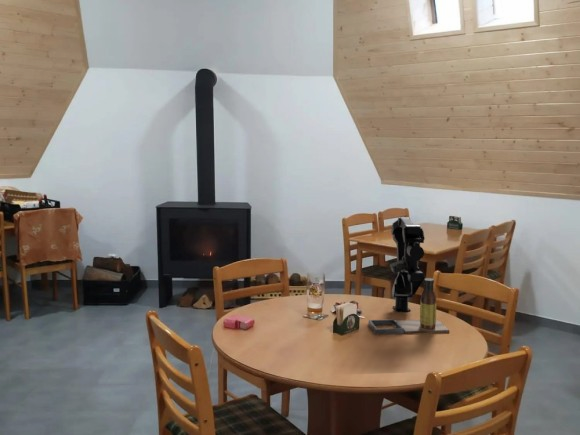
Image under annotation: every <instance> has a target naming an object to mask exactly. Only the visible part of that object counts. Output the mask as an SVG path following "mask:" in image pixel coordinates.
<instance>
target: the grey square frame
mask: <svg viewBox="0 0 580 435" xmlns="http://www.w3.org/2000/svg"><path fill="white" fill-rule="evenodd" d="M396 320H397V319H391V318H390V319H368V326H369V328H370V329H371V330H372V332H373V331H374V332H373V334H374V335H398V334H399V335H403V334H404V329H403V328H402V326H401V325H400V324H399V323H398V322H397V321H396ZM392 325H393V326H394V327H395V328H391V327H390V328H377V326H392Z"/></svg>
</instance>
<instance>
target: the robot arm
mask: <svg viewBox="0 0 580 435" xmlns="http://www.w3.org/2000/svg"><path fill="white" fill-rule="evenodd" d="M390 232H391V235H392V240H393V242H394V243H395V244H396V261H395V262H392V263H390V264H389V267H390V269H391V272H393V273H394V274H397V276H396V277H395V279H394V283H393V286H392V289H391V296H392V297H393V298H395V300H394V301H395V303H394V305H392V308H393V309H394V310H395V311H396V312H412V310H411V309H410V308H409V298H411V299H412V298H413V296H414V295H416V293H417V291H418V290H419V288H420V286H421V285H422V283H424V282H423V281H424V279H425V278H426V274H425V273H424V272H422V271H421V270H420V267H419V262H420V261H421V259H422V258H424V256H425V250H424V248H423V247H422V246H421V244H424V243H425V242H424V241H425V238H426V237H425V233H424V230H423V228H422V226H421V225H420V224H416V223H415V224H414V222H412V220H411V217H408V216H399V217H398V218H397V220H395V221H394V222H393V223H392V225H391V229H390Z"/></svg>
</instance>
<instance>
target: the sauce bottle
mask: <svg viewBox="0 0 580 435" xmlns="http://www.w3.org/2000/svg"><path fill="white" fill-rule="evenodd" d="M422 283H423V291H422V292H421V296H420V302H419V304H420V306H419V307H420V308H419V310H420V311H419V320H420V325H421V327H423V328H426V329H433V328H435V326H436V319H437V295H436V293H435V291H434V283H435V279H434V278H431V277H425V279H424V281H423V282H422Z"/></svg>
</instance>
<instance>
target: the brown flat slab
mask: <svg viewBox="0 0 580 435" xmlns="http://www.w3.org/2000/svg"><path fill="white" fill-rule="evenodd" d="M395 320H396V321H397V322H398V323H399V324H400V325H401V326H402V328H403V329H404V332H403V334H406V335H407V334H441V333H443V334H444V333H445V334H446V333H448V334H449V333H450V329H449V328H447V327H446V325H444V324H443V323H442V322H441V321H440V320H438V319H437V318H436V326H435V328H433V329H426V328H423V327H421V325H420V319H395Z"/></svg>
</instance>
